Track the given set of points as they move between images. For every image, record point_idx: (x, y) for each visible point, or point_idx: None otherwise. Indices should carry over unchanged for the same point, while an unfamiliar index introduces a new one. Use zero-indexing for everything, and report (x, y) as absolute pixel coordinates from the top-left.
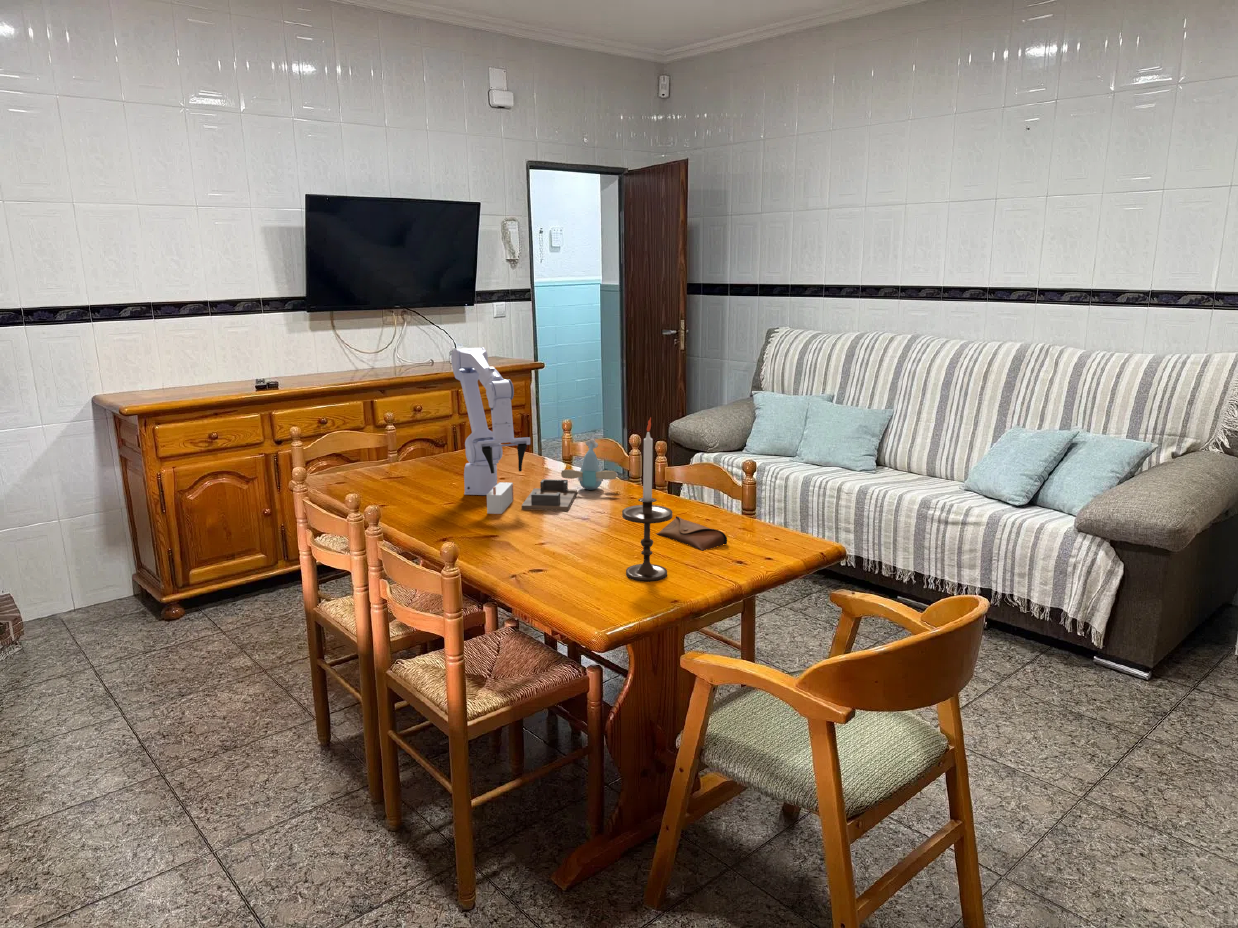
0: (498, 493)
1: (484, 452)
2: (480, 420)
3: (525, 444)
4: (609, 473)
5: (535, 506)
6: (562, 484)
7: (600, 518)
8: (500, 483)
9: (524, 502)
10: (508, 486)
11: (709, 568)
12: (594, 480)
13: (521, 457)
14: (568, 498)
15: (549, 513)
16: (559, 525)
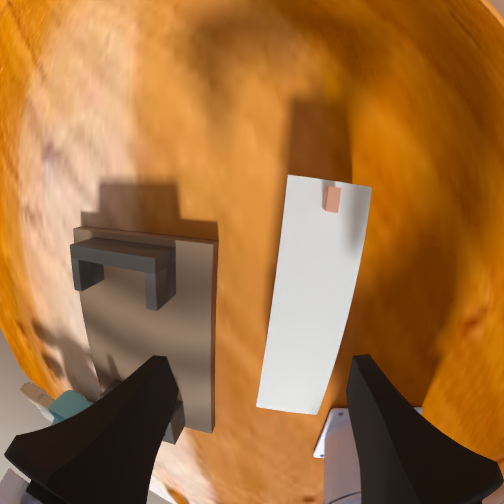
0: (308, 214)
1: (480, 466)
2: None
3: (33, 489)
4: (29, 393)
5: (161, 237)
6: None
7: (28, 163)
8: (310, 400)
9: (208, 288)
10: (268, 354)
11: (2, 8)
12: (60, 396)
13: (90, 412)
14: (91, 321)
15: (121, 193)
16: (96, 76)
